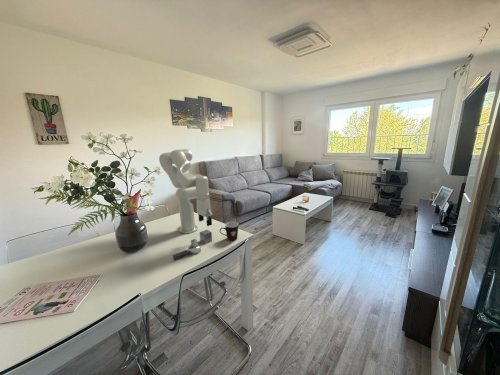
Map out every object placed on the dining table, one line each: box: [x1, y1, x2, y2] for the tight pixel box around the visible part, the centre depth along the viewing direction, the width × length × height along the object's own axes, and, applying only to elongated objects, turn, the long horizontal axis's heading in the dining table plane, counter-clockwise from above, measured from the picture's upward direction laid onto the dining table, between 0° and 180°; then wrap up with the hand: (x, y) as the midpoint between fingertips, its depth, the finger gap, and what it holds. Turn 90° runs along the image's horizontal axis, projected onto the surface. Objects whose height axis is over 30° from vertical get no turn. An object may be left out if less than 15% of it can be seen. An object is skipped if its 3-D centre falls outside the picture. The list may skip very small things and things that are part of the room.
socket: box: [199, 229, 213, 245], centre depth 130 cm, size 5×5×6 cm
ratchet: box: [172, 238, 202, 262], centre depth 116 cm, size 7×16×7 cm, turn 132°
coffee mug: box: [219, 221, 239, 242], centre depth 132 cm, size 12×9×10 cm
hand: (205, 223), depth 127 cm, fingers open, 9 cm apart
